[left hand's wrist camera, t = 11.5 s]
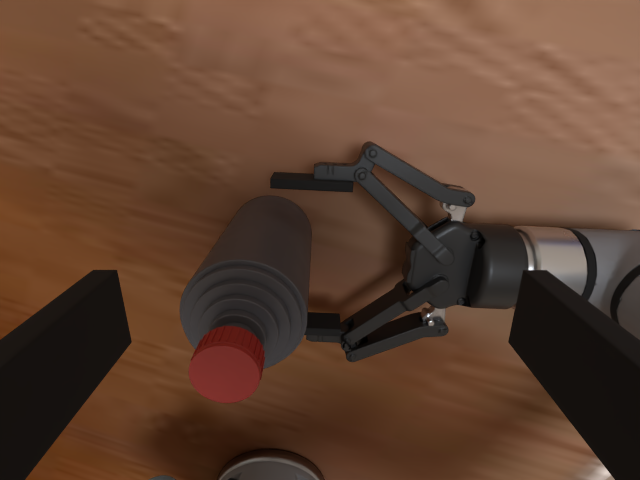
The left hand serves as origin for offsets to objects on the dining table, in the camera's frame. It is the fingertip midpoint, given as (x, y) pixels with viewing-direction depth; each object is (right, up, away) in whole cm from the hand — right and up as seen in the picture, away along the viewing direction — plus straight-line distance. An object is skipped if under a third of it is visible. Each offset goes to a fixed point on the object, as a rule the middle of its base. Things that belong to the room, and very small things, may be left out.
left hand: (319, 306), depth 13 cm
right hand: (-4, +1, +21) cm, 21 cm away
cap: (-5, -5, +8) cm, 10 cm away
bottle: (-5, +3, +27) cm, 28 cm away
